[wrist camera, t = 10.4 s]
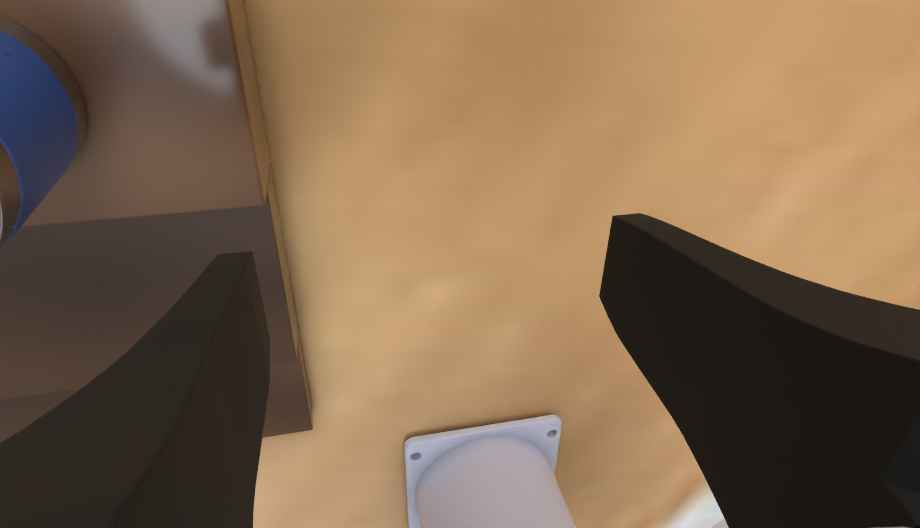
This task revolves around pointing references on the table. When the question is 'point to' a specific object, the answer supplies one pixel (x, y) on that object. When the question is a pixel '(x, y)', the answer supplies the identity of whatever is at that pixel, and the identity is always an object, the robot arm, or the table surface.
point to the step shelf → (144, 201)
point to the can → (34, 123)
